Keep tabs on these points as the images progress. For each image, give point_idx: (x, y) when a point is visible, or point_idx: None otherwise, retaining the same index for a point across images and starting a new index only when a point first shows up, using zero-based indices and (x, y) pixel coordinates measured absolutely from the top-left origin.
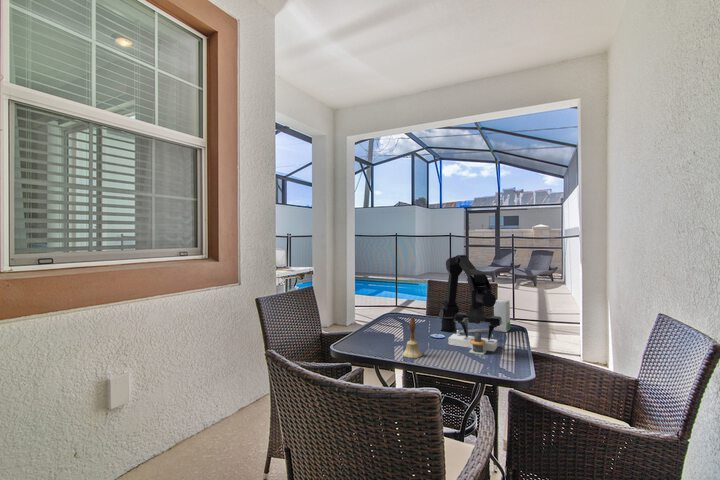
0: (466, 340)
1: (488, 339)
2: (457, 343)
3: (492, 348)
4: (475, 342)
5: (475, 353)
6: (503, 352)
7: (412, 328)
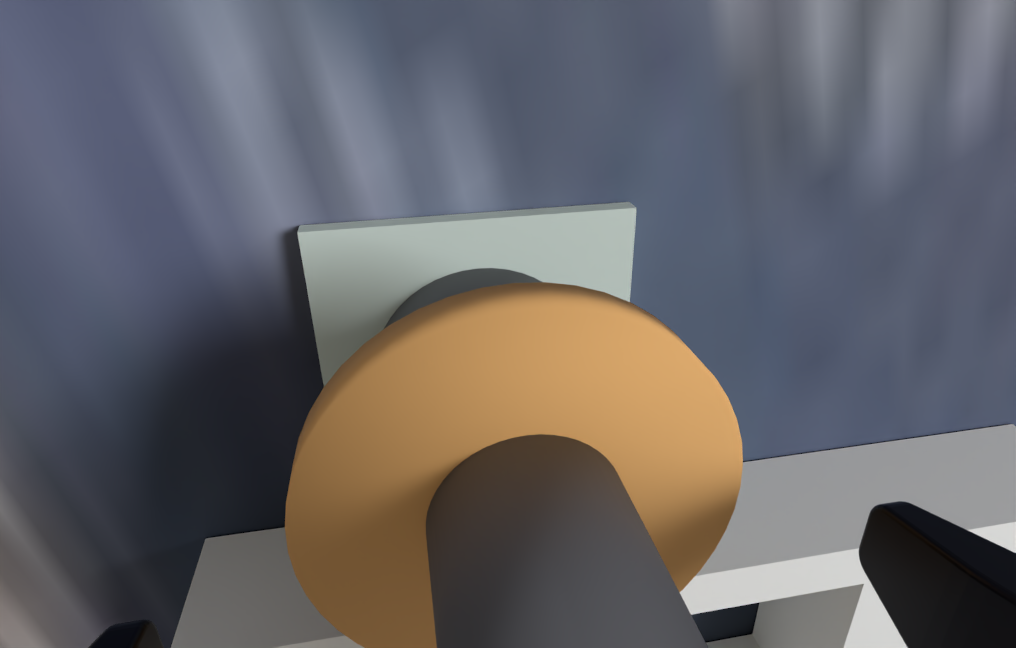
0: (791, 563)
1: (122, 641)
2: (900, 470)
3: (229, 578)
4: (557, 359)
5: (489, 214)
6: (33, 591)
7: None
